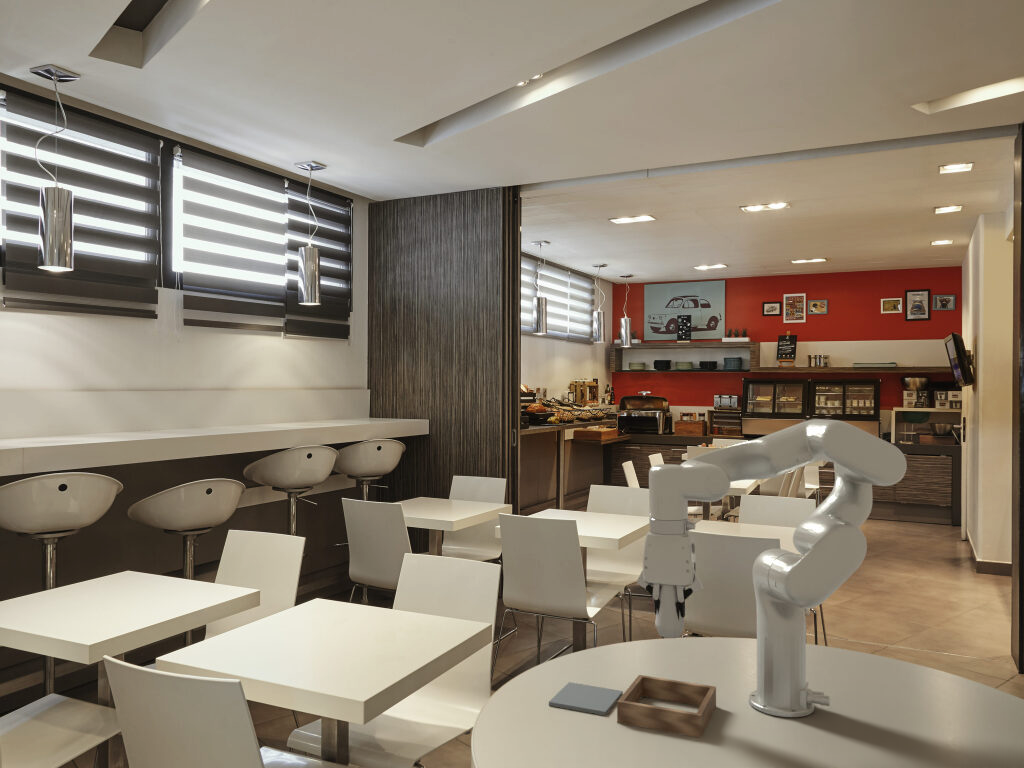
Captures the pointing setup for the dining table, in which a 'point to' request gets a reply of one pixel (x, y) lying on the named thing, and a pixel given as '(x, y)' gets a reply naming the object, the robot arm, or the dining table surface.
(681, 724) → the bin
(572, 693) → the mat
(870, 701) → the dining table surface
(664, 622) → the salt shaker
